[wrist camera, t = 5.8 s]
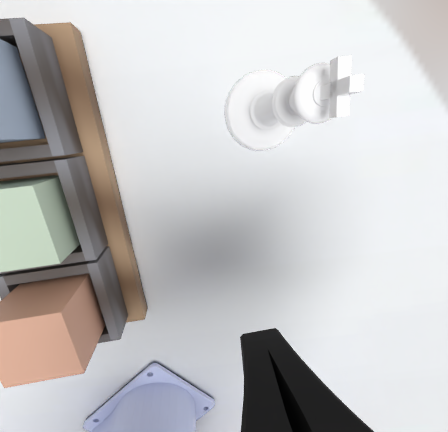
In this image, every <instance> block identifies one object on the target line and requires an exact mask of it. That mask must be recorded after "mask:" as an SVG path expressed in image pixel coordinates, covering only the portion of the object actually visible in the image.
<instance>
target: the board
mask: <svg viewBox="0 0 448 432" xmlns="http://www.w3.org/2000/svg"><path fill="white" fill-rule="evenodd" d="M0 39H1V40H3V41H5V42H7V43H9V44H11V45H13V46H15V47H17V50H18V53H19V56H20V59H21V62H22V65H23V68H24V72H25V75H26V78H27V81H28V84H29V87H30V90H31V94H32V97H33V100H34V103H35V106H36V109H37V112H38V116H39V119H40V122H41V125H42V128H43V131H44V134H45V139H35V140H25V141H15V142H5V143H0V182H1V181H10V180H19V179H28V178H36V177H45V176H54V175H59V179H60V182H61V185H62V188H63V191H64V194H65V197H66V201H67V204H68V207H69V210H70V213H71V216H72V220H73V223H74V226H75V229H76V232H77V235H78V238H79V242H80V245H79V246H78V247H77V248H76V249H75V250H73V251H72V252H71V253H70V254H69V255H68V256H67V257H66V258H65V259H64V260H63V261H62V262H61V263H60V264H54V265H47V266H40V267H33V268H27V269H20V270H13V271H6V272H0V298H1V300H2V299H3V298H5V297H6V296H7V295H8V294H9V293H10V292H11V291H13V290H14V289H15V288H16V287H17V286H18V285H19V284H24V283H31V282H37V281H44V280H51V279H57V278H64V277H71V276H77V275H84V274H89V276H90V279H91V282H92V285H93V288H94V291H95V295H96V298H97V301H98V304H99V307H100V310H101V313H102V317H103V320H104V323H105V327H104V329H103V332H102V334H101V336H100V339H99V341H98V343H102V342H108V341H113V340H119V339H121V336H122V333H123V330H124V327H125V324H126V322H132V321H137V320H143V319H145V316H146V312H147V305H146V301H145V297H144V293H143V289H142V285H141V281H140V277H139V272H138V268H137V264H136V260H135V256H134V252H133V248H132V243H131V239H130V235H129V231H128V227H127V223H126V219H125V215H124V210H123V206H122V202H121V198H120V194H119V190H118V186H117V181H116V177H115V173H114V169H113V165H112V161H111V157H110V153H109V148H108V144H107V140H106V136H105V132H104V128H103V124H102V119H101V115H100V111H99V107H98V103H97V99H96V95H95V91H94V86H93V82H92V78H91V74H90V70H89V66H88V62H87V57H86V53H85V49H84V45H83V41H82V37H81V33H80V31H79V30H78V29H77V28H76V27H75V26H74V25H73V24H72V23H54V24H36V25H33V24H32V23H30V22H29V21H28V20H26V19H25V18H10V19H0Z"/></svg>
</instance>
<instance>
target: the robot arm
mask: <svg viewBox="0 0 448 432" xmlns="http://www.w3.org/2000/svg"><path fill="white" fill-rule="evenodd" d="M240 339H241V349H242V360H243V371H244V400H243V412H242V425H241V432H374V431H373V430H372V429H370V428H369V427H368V426H367V425H366V424H365V423H364V422H363V421H362V420H361V419H359V418H358V417H357V416H356V415H355V414H354V413H353V412H352V411H351V410H350V409H349V408H348V407H347V406H346V405H345V404H344V403H343V402H342V401H341V400H340V399H339V398H338V397H337V396H336V395H335V394H334V393H333V392H332V391H331V390H330V389H329V388H328V387H327V386H326V385H325V384H324V383H323V382H322V381H321V380H320V379H319V378H318V377H317V376H316V374H315V373H314V372H313V371H312V370H311V369H310V368H309V367H308V366H307V365H306V364H305V362H304V361H303V360H302V359H301V358H300V357H299V355H298V354H297V353H296V352H295V351H294V350H293V348H292V347H291V346H290V345H289V344H288V342H287V341H286V340H285V339H284V337H283V336H282V335H281V333H280V332H279V331H278V330H277V329H276V328H274V329H268V330H263V331H257V332H252V333H246V334H243V335H242V336H241V337H240ZM150 372H152V373H150ZM214 405H215V402H214V399H212V398H211V397H209V396H208V395H206V394H205V393H203V392H201V391H200V390H198V389H197V388H195V387H194V386H192V385H190V384H189V383H187V382H186V381H184V380H183V379H181V378H180V377H178V376H176V375H175V374H173V373H172V372H170V371H169V370H167V369H165V368H164V367H162V366H161V365H159V364H157V363H153V364H151V365H149V366H148V367H147V368H146V369H145V370H144V371H142V372H141V373H140V374H139V375H138V376H137V377H135V378H134V379H133V380H132V381H131V382H130V383H128V384H127V385H126V386H125V387H124V388H123V389H122V390H120V391H119V392H118V393H117V394H116V395H115V396H113V397H112V398H111V399H110V400H109V401H108V402H106V403H105V404H104V405H103V406H102V407H101V408H99V409H98V410H97V411H96V412H95V413H94V414H93V415H91V416H90V417H89V418H88V419H87V420H86V421H85V422H84V425H83V428H84V429H85V430H87V431H89V432H196V421H197V420H198V419H199V418H201V417H202V416H203V415H204V414H206V413H207V412H208V411H209V410H211V409H212V408H213V407H214Z"/></svg>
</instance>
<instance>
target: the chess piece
mask: <svg viewBox="0 0 448 432" xmlns="http://www.w3.org/2000/svg"><path fill="white" fill-rule="evenodd" d="M351 63H352V55H350V56H340V57H337V58H335V59H333V60H331V61H330V64H329V63H318V64H315V65H312V66H310V67H309V68H307V69H306V70H305V71H304V72H303V73H302V74H301V75H300V76H291V77H288V78H286V77H285V76H283V75H282V74H280V73H278V72H275V71H272V70H258V71H254V72H251V73H248V74H246V75H245V76H243V77H242V78H240V79H239V80H238V81H237V82H236V83H235V84H234V86H233V87H232V89H231V90H230V92H229V94H228V97H227V100H226V104H225V120H226V124H227V127H228V130H229V132H230V133H231V135H232V137H233V138H234V139H235V140H236V141H237V142H238V143H239V144H240V145H242V146H244V147H246V148H248V149H251V150H256V151H263V150H268V149H272V148H274V147H277V146H278V145H280V144H282V143H283V142H284V141H285V140H286V139H287V138H288V137H289V136H290V135H291V133H292V132H293V130H294V128H295V127H298V126H301V125H303V124H304V123H306V122H309V123H314V124H320V123H324V122H327V121H329V120H331V119H332V118H334V117H342V116H349V109H350V94H353V93H357V92H361V91H363V90H364V74H360V75H351Z"/></svg>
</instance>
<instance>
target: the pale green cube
mask: <svg viewBox="0 0 448 432" xmlns="http://www.w3.org/2000/svg"><path fill="white" fill-rule="evenodd" d="M79 245H80V242H79V238H78V235H77V232H76V229H75V226H74V223H73V220H72V216H71V213H70V210H69V207H68V204H67V201H66V197H65V194H64V191H63V188H62V185H61V182H60V179H59V175H54V176H45V177H36V178H28V179H19V180H10V181H1V182H0V272H6V271H13V270H20V269H27V268H33V267H40V266H47V265H54V264H60V263H61V262H62V261H63V260H64V259H65V258H66V257H67V256H68V255H69V254H70V253H71V252H72V251H73V250H75V249H76V248H77V247H78V246H79Z"/></svg>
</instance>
